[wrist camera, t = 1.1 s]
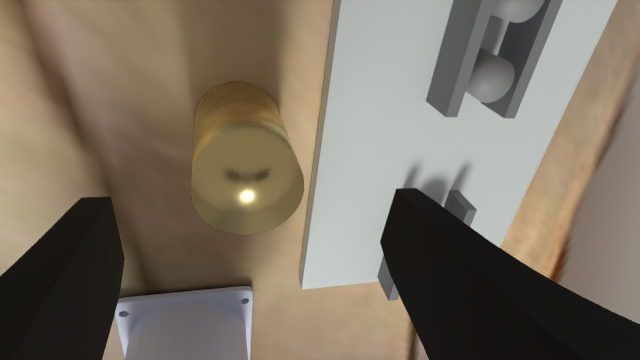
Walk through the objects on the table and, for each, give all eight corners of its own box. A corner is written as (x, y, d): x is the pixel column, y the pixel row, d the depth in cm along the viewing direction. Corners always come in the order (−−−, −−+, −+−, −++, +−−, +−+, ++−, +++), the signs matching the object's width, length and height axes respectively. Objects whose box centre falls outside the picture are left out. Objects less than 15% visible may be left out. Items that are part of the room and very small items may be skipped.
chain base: (480, 260, 29) (505, 291, 27) (298, 277, 26) (308, 315, 23) (619, -44, 19) (680, -40, 16) (345, -90, 15) (372, -92, 13)
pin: (276, 158, 20) (298, 231, 16) (196, 158, 19) (193, 238, 14) (282, 83, 18) (309, 141, 13) (192, 80, 17) (187, 141, 12)
